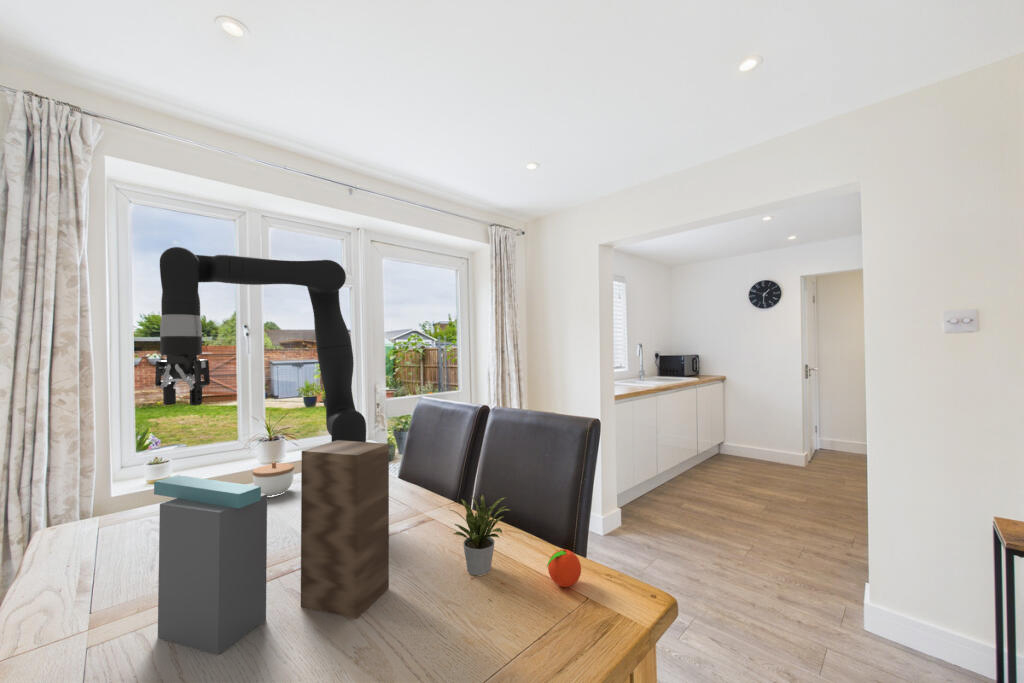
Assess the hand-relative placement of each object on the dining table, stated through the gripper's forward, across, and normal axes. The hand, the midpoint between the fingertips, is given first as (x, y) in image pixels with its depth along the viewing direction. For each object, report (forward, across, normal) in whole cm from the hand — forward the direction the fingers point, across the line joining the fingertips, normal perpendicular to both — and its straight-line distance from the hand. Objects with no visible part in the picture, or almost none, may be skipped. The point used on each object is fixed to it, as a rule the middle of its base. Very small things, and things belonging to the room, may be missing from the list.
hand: (182, 404), depth 94 cm
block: (+15, -25, +13) cm, 32 cm away
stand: (+38, -44, -1) cm, 58 cm away
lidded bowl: (+38, +22, -44) cm, 62 cm away
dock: (+38, -27, +13) cm, 48 cm away
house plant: (+39, -67, -19) cm, 80 cm away
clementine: (+39, -85, -18) cm, 95 cm away
